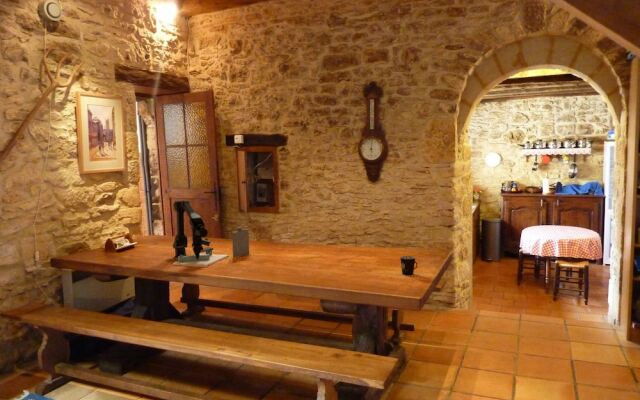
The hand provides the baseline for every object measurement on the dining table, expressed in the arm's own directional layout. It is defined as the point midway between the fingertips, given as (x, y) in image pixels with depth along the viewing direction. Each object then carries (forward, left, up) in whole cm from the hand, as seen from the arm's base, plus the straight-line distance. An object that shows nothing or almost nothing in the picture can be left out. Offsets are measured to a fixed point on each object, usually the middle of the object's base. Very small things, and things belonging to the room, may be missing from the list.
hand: (197, 259), depth 322 cm
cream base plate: (-1, +7, -3) cm, 7 cm away
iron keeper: (-4, +15, -1) cm, 16 cm away
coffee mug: (+138, +4, -3) cm, 138 cm away
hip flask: (+17, +29, -3) cm, 33 cm away
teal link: (-4, +1, -1) cm, 4 cm away
